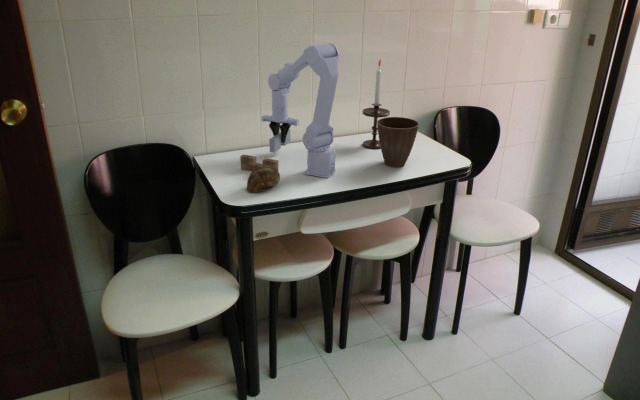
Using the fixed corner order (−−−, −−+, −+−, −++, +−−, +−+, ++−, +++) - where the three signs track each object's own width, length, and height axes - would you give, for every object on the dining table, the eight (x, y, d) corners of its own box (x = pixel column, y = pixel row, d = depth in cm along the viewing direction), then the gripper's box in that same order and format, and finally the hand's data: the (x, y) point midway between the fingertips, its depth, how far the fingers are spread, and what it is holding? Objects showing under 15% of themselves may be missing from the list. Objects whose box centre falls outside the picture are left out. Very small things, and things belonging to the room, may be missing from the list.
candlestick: (388, 150, 206) (395, 61, 191) (361, 149, 206) (366, 60, 191) (385, 141, 215) (392, 56, 201) (359, 140, 215) (364, 55, 201)
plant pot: (382, 172, 184) (385, 129, 177) (369, 158, 197) (371, 117, 190) (420, 169, 187) (425, 127, 180) (405, 155, 200) (409, 115, 193)
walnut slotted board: (278, 173, 181) (278, 160, 179) (276, 175, 179) (275, 162, 177) (243, 167, 185) (243, 154, 183) (240, 169, 184) (240, 156, 181)
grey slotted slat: (285, 141, 201) (285, 128, 199) (290, 141, 200) (290, 129, 198) (269, 152, 189) (269, 139, 187) (274, 152, 188) (274, 139, 186)
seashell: (276, 181, 175) (276, 159, 171) (283, 192, 167) (282, 169, 163) (243, 184, 172) (242, 162, 168) (248, 195, 163) (247, 172, 160)
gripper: (302, 106, 189) (302, 141, 195) (267, 101, 194) (268, 136, 200) (294, 110, 183) (294, 146, 189) (258, 106, 188) (259, 141, 194)
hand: (280, 141), depth 194 cm, fingers closed on grey slotted slat, 2 cm apart
